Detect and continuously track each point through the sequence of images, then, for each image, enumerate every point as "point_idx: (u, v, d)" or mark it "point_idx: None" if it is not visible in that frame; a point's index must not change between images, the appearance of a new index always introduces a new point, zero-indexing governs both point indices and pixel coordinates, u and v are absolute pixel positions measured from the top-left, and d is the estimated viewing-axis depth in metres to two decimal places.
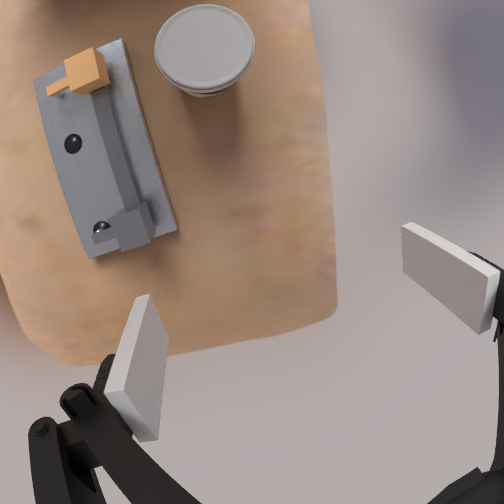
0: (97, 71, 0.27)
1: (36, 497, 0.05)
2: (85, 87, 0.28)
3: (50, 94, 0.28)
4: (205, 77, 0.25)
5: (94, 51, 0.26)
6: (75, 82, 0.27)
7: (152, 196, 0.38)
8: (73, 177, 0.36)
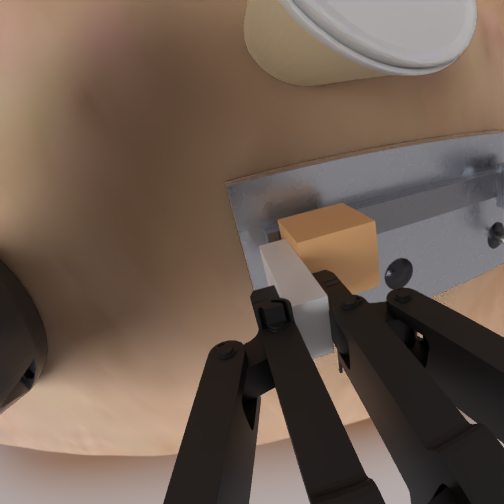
0: (359, 226, 0.15)
1: (190, 420, 0.07)
2: None
3: None
4: None
5: (305, 237, 0.15)
6: (367, 275, 0.16)
7: (482, 153, 0.21)
8: (437, 272, 0.24)
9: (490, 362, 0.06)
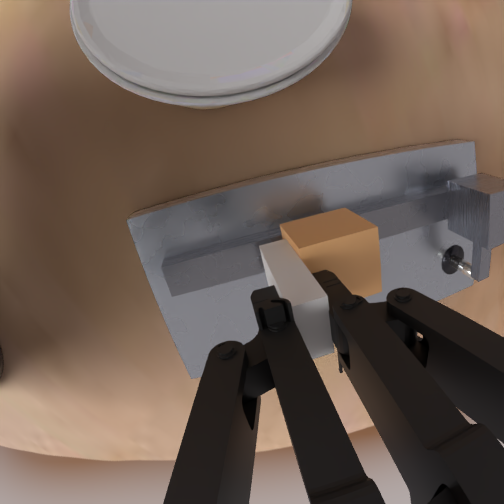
0: (362, 232, 0.15)
1: (190, 420, 0.07)
2: None
3: None
4: None
5: (307, 242, 0.15)
6: (369, 282, 0.15)
7: (432, 169, 0.20)
8: (375, 302, 0.23)
9: (490, 362, 0.06)
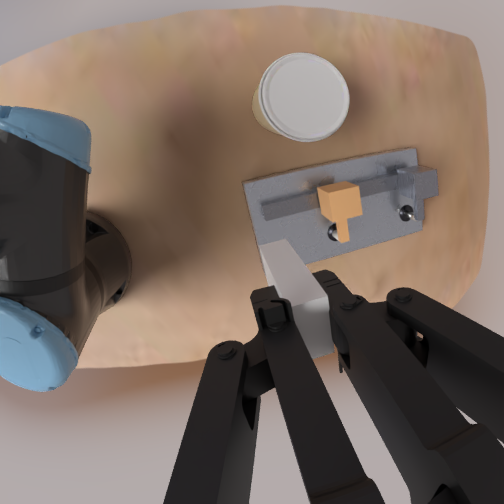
0: (352, 188, 0.36)
1: (190, 420, 0.07)
2: None
3: (348, 238, 0.40)
4: (340, 98, 0.29)
5: (331, 191, 0.36)
6: (356, 209, 0.37)
7: (390, 163, 0.42)
8: (362, 233, 0.45)
9: (490, 362, 0.06)
